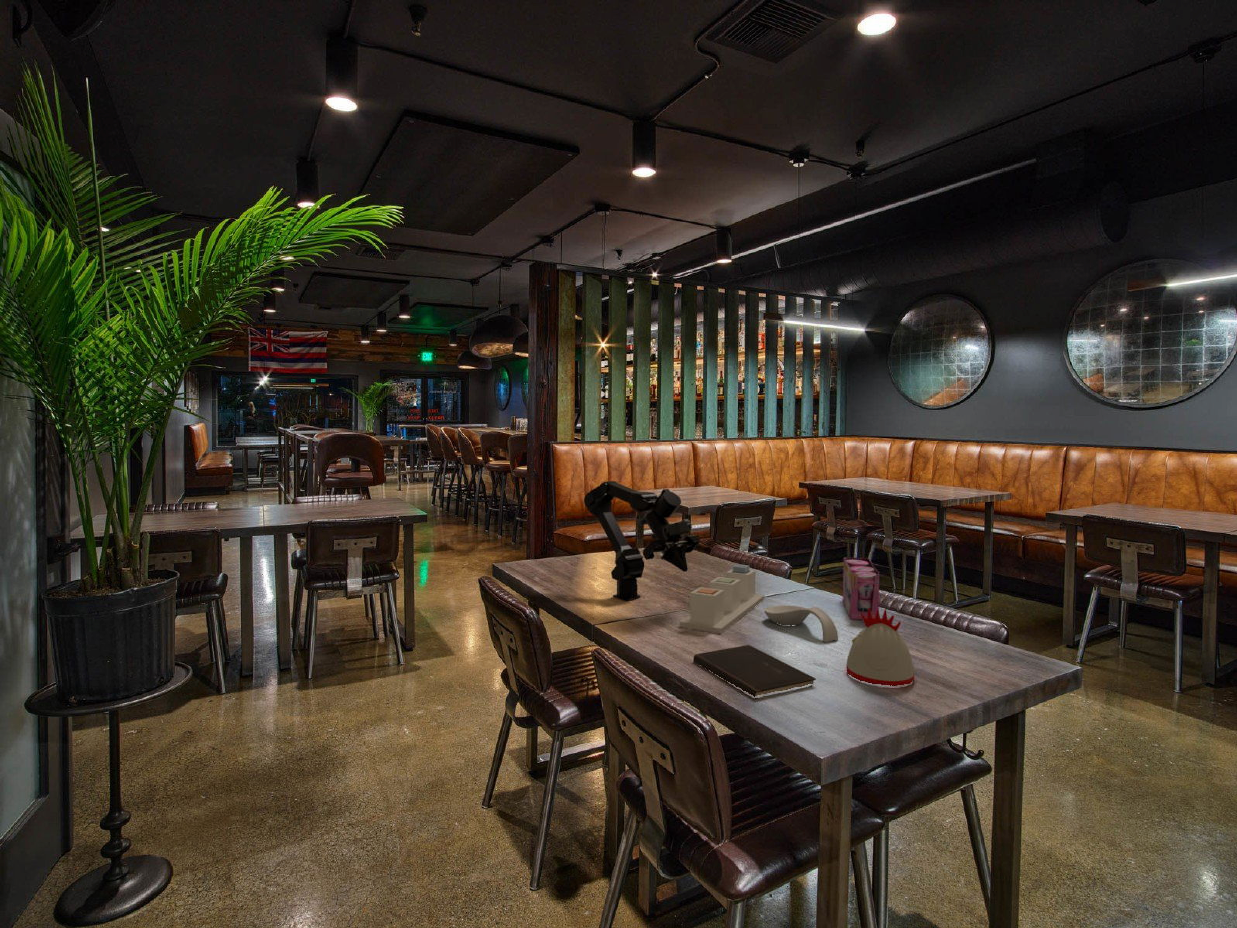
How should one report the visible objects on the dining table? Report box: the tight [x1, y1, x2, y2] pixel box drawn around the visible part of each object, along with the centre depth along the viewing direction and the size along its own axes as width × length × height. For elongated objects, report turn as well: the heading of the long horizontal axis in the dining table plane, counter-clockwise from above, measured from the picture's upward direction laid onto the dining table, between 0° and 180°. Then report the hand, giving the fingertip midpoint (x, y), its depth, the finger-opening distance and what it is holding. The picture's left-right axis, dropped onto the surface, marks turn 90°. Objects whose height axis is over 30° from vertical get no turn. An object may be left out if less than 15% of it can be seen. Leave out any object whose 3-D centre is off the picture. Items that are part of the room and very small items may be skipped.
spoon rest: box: [764, 604, 839, 643], centre depth 174 cm, size 24×12×7 cm, turn 26°
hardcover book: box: [693, 644, 817, 697], centre depth 143 cm, size 16×23×2 cm
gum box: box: [842, 556, 880, 620], centre depth 192 cm, size 24×8×14 cm, turn 166°
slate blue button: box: [732, 563, 750, 574], centre depth 200 cm, size 4×4×4 cm
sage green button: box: [716, 577, 734, 584], centre depth 188 cm, size 4×4×4 cm
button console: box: [679, 568, 765, 634], centre depth 189 cm, size 12×38×10 cm, turn 150°
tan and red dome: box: [845, 608, 915, 686], centre depth 141 cm, size 14×14×15 cm
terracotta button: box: [698, 587, 717, 595], centre depth 176 cm, size 4×4×4 cm
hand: (686, 570), depth 183 cm, fingers closed
